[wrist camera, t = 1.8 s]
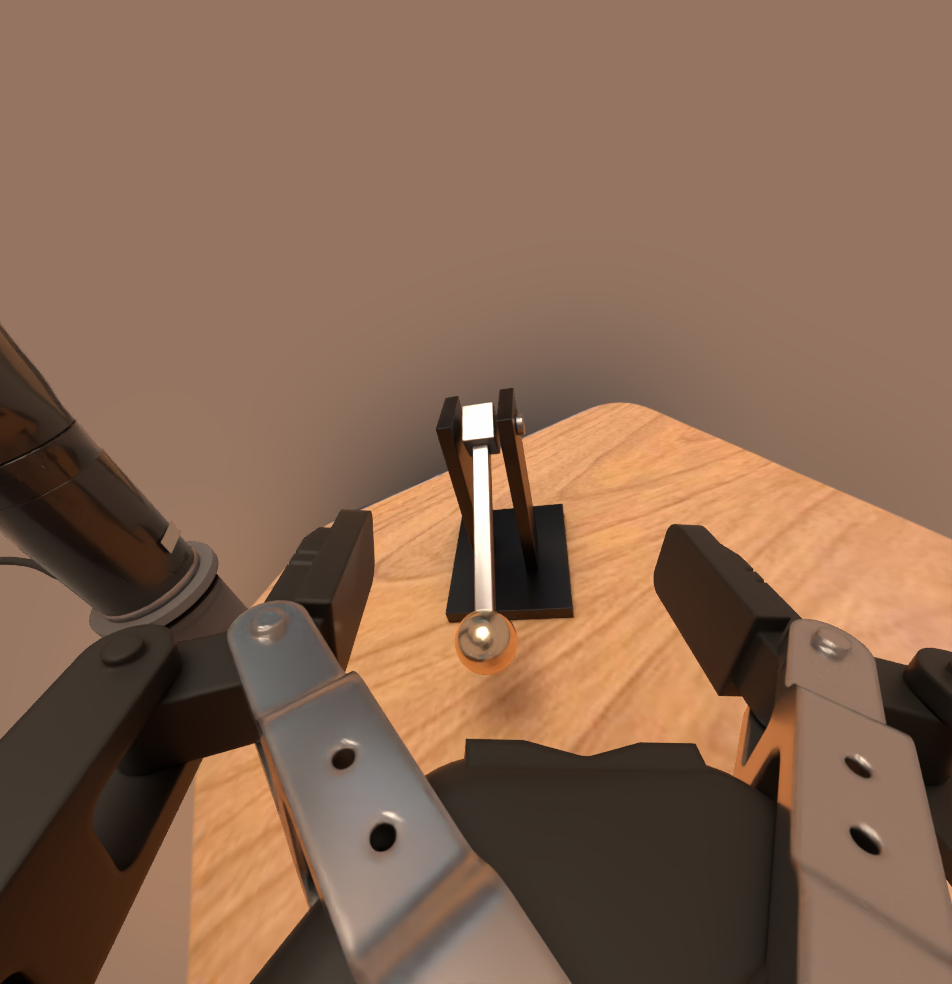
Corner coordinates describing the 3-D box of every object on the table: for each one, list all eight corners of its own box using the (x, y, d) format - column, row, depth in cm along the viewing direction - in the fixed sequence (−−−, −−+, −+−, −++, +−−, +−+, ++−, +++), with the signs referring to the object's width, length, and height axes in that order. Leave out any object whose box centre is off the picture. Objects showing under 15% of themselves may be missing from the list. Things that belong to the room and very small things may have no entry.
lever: (523, 674, 25) (514, 674, 22) (463, 675, 26) (446, 675, 23) (509, 423, 32) (501, 394, 29) (462, 429, 32) (449, 402, 29)
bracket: (573, 617, 33) (555, 448, 23) (448, 622, 35) (384, 468, 25) (563, 512, 42) (547, 359, 32) (465, 521, 44) (422, 379, 34)
